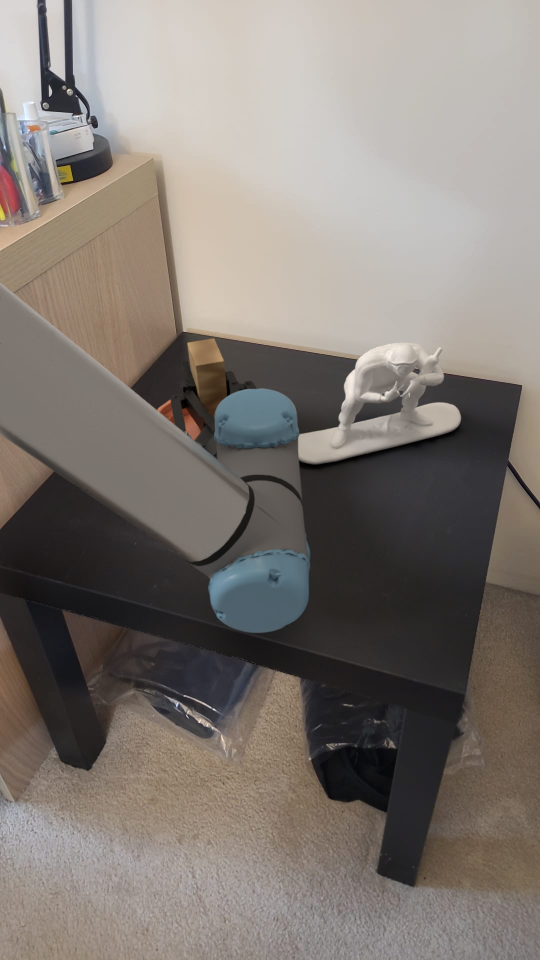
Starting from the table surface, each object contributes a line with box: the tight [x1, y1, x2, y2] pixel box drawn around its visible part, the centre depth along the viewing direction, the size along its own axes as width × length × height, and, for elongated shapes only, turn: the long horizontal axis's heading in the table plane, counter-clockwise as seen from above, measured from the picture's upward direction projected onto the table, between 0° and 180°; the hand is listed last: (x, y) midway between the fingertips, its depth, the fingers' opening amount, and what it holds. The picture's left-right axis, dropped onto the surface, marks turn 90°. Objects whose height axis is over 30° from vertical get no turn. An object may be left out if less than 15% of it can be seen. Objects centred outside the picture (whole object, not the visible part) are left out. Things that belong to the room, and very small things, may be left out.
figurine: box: [298, 341, 462, 465], centre depth 89 cm, size 26×13×17 cm, turn 109°
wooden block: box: [186, 338, 227, 432], centre depth 91 cm, size 4×6×13 cm, turn 15°
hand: (201, 367), depth 95 cm, fingers closed on wooden block, 4 cm apart
